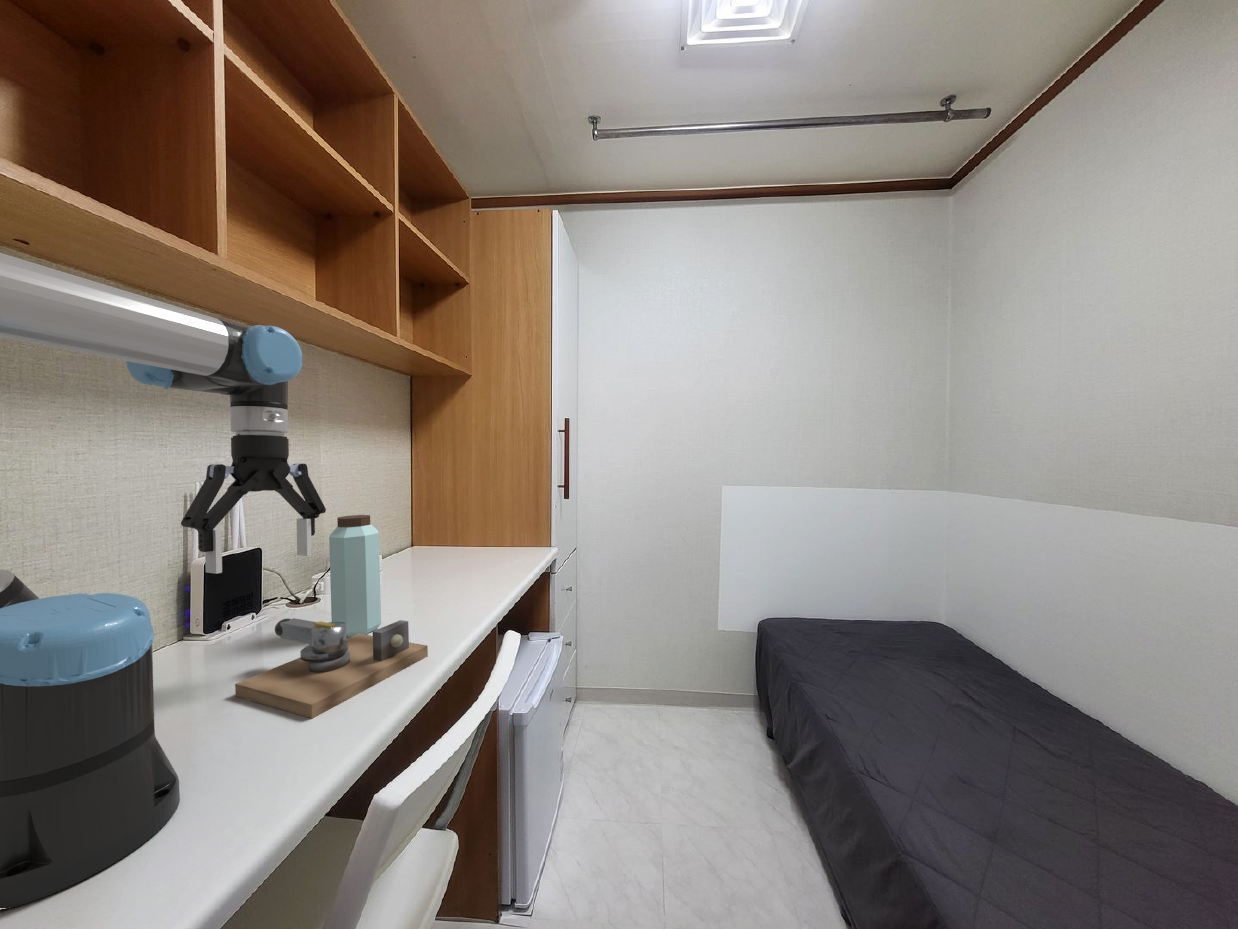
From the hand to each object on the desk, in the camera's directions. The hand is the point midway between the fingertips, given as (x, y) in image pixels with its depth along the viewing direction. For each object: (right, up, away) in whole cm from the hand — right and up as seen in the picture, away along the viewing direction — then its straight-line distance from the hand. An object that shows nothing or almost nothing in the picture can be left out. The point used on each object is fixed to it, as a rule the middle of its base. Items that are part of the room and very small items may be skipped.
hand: (262, 563), depth 76 cm
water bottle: (+1, -20, +25) cm, 32 cm away
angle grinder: (+4, -17, +5) cm, 18 cm away
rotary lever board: (+10, -20, +4) cm, 23 cm away
